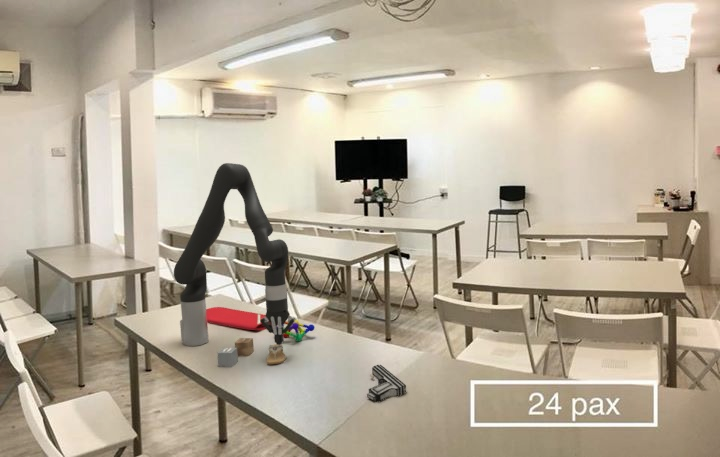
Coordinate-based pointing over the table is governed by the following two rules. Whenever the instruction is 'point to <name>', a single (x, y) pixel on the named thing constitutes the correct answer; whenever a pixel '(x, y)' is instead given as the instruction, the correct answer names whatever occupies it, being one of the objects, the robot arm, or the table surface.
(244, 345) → the walnut block
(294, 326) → the decorative model
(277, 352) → the sandal
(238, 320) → the dish drying mat
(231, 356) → the slate block
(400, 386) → the handgun
